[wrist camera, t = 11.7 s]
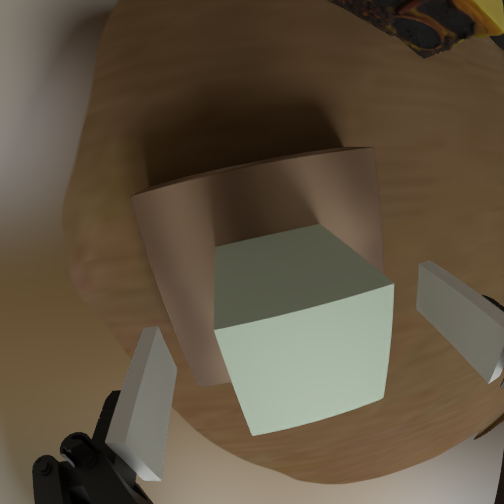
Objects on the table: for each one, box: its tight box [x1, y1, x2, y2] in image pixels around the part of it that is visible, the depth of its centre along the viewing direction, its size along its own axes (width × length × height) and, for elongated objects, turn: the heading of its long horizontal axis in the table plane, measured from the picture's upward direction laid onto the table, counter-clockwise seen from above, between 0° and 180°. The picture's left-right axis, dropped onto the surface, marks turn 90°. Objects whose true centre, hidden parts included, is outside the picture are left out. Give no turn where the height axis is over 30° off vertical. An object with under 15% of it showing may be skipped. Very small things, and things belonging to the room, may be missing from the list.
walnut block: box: [130, 147, 383, 387], centre depth 20 cm, size 14×14×5 cm
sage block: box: [214, 224, 394, 436], centre depth 14 cm, size 6×6×8 cm
